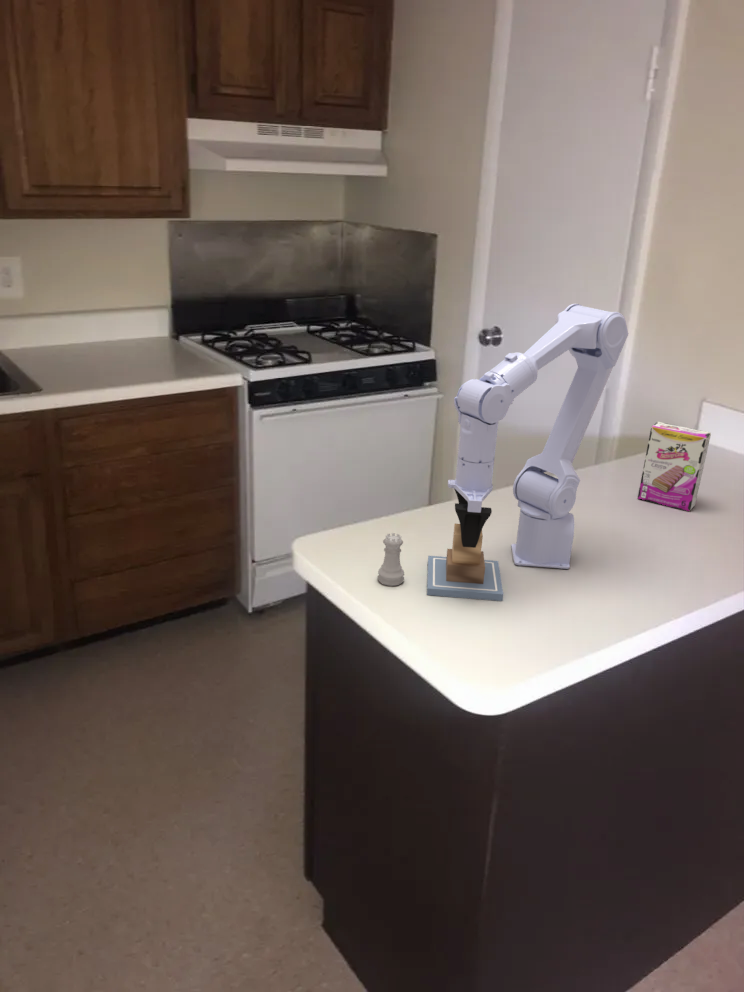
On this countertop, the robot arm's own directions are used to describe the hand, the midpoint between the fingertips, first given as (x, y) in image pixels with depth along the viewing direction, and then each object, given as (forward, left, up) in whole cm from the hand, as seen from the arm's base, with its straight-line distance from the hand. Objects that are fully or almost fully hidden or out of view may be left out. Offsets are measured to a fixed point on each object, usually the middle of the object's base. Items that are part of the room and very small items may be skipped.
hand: (468, 536), depth 134 cm
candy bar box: (-44, -43, -8) cm, 62 cm away
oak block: (0, 0, -4) cm, 4 cm away
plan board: (0, 0, -8) cm, 8 cm away
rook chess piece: (+12, +2, -8) cm, 15 cm away
